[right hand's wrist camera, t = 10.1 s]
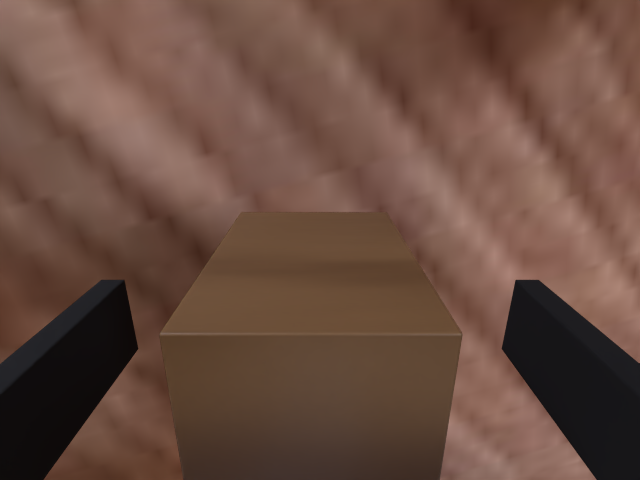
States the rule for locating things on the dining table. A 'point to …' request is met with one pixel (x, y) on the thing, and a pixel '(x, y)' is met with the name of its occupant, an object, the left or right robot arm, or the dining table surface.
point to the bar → (311, 354)
